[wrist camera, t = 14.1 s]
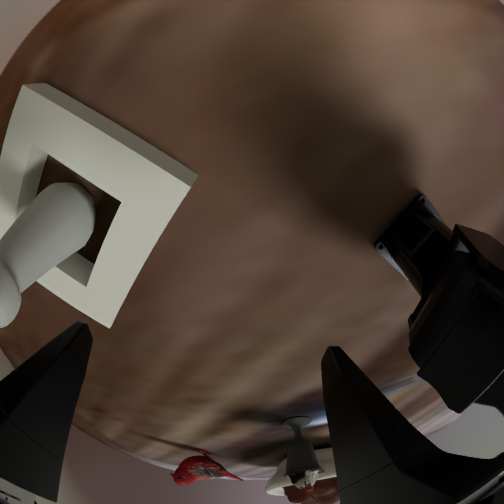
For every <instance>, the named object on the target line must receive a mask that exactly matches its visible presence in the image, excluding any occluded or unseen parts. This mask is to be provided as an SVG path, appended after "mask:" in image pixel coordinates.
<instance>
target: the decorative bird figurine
mask: <svg viewBox="0 0 504 504" xmlns="http://www.w3.org/2000/svg"><path fill="white" fill-rule="evenodd" d="M192 450H196V451H197V452H201V453H202V454H203V455H205V456H206V457H205V456H192V457H188V458H186V459H185V460H183V461H182V462H181V464H180V465H179V467H178V468H177V469H176V471H175V473H174V474H170V475H171V476H172V477H173V478H174V481H175V482H176V483H177V484H178V485H187V484H191V483H192V482H194V481H196V480H201V479H213V478H219V477H223V476H226V477H230V478H234V479H237V480H241V481H243V480H242V479H240V478H239V477H237V476H235V475H233V474H230V473H229V472H228V471H226V470H225V468H224V467H223V466H222V465H221V464H219V463H217V462H215V461H214V460H213V459H211V458H210V457H209V456H208V455H207V454H211V453H209V452H208V453H207V451H203V450H201V449H192Z"/></svg>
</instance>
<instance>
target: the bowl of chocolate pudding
mask: <svg viewBox="0 0 504 504" xmlns="http://www.w3.org/2000/svg"><path fill="white" fill-rule="evenodd" d="M314 451H315V454H316V458H317V461H318V463H319V466H320V467H323V468H324V469H325V472H323V473H320V474H318V478H317V480H316V481H315V483H314V485H313V486H314V487H313V490H312V491H310V493H311V495H312V496H314V497H315V498H317V499H316V500H314V499H313V498H312V497H311V496H310V494H309V492H307V491H306V490H304V489H299V488H298V487H296V486H295V484H294V485H293V484H292V483H291V480H289V479H288V478H287V477H282V476H283V475H284V474H285V473H286V462H287V458H286V459H284V460H283V461H281V462H280V464H279V466H278V468H277V470H276V473H275V474H274V475H273V476H272V477H271V478H270V479H269V481H268V482H267V484H266V486H265V491H266V493H268V494H271V495H287V497H288V499H289V501H290V502H293V503H301V504H334V503H336V502H337V501H339V500H340V498H339V490H338V483H337V476H336V470H335V463H334V457H333V451H332V447H330V448H322V449H316V450H314Z"/></svg>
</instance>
